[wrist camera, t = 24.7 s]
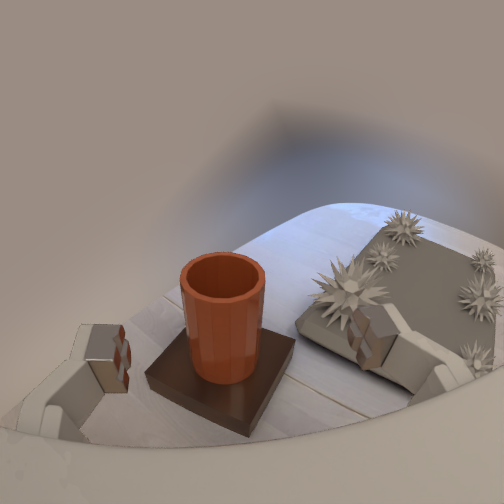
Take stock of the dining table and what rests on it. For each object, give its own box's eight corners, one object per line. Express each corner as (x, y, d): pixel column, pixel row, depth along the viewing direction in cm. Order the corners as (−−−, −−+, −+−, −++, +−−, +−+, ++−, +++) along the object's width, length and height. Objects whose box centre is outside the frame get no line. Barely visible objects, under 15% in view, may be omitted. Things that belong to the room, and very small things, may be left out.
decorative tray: (474, 430, 22) (527, 373, 17) (282, 336, 36) (292, 266, 30) (491, 280, 46) (510, 234, 41) (378, 232, 59) (389, 186, 54)
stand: (150, 389, 28) (144, 372, 27) (205, 324, 37) (204, 306, 35) (248, 438, 24) (250, 424, 23) (292, 357, 33) (295, 339, 31)
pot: (203, 393, 25) (193, 311, 20) (183, 343, 30) (172, 260, 25) (269, 372, 28) (280, 289, 22) (242, 327, 33) (244, 246, 27)
